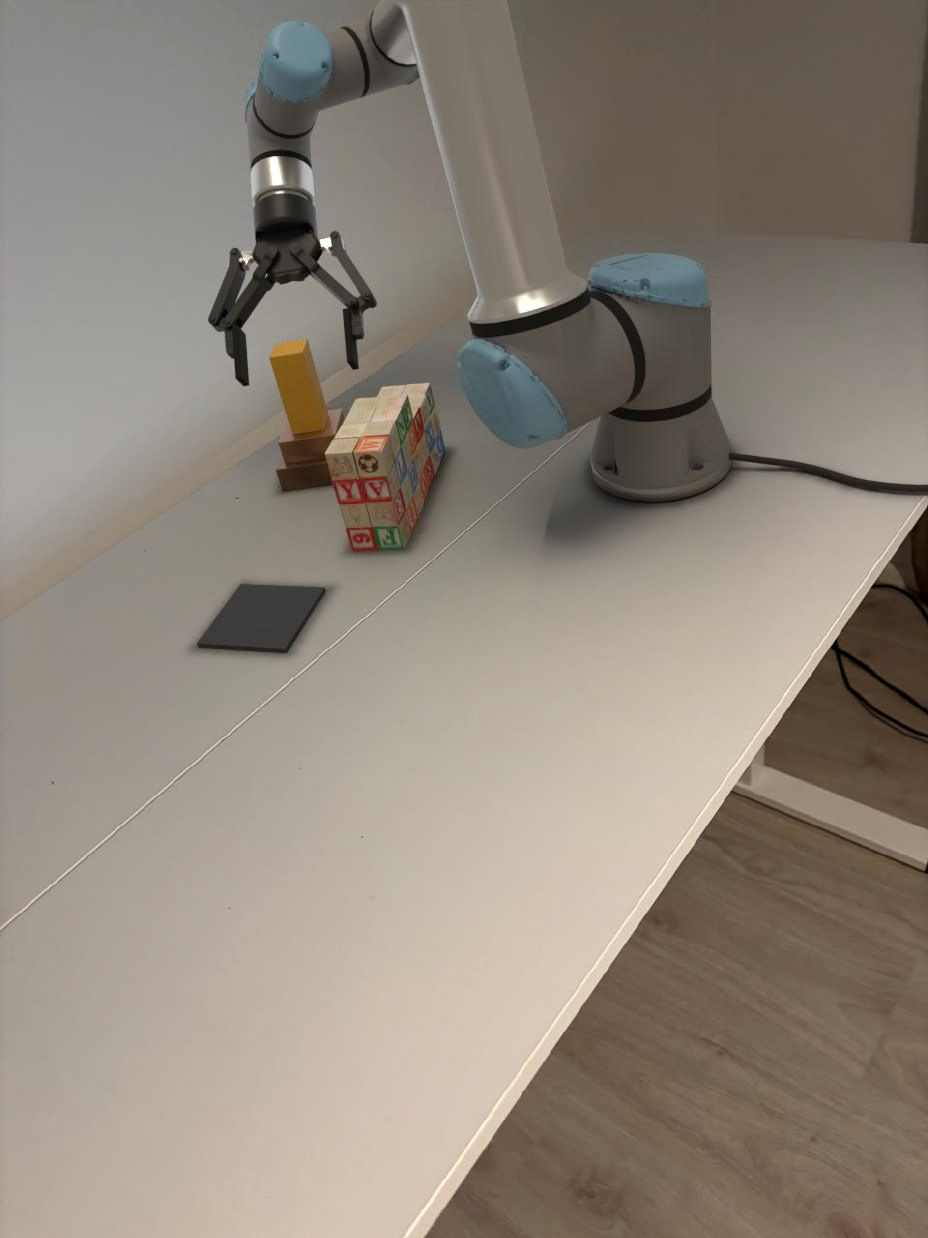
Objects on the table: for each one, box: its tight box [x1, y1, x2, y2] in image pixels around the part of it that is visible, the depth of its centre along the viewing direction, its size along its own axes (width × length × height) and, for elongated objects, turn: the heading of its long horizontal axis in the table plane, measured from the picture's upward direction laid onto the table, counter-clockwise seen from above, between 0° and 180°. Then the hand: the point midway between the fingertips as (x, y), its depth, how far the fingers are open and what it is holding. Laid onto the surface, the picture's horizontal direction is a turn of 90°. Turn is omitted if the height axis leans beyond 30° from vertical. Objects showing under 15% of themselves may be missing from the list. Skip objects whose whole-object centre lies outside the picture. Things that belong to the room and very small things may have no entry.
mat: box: [196, 583, 326, 653], centre depth 105 cm, size 10×10×1 cm
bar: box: [268, 338, 329, 435], centre depth 122 cm, size 4×4×10 cm
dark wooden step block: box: [275, 408, 346, 492], centre depth 127 cm, size 9×9×6 cm
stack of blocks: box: [325, 382, 446, 552], centre depth 116 cm, size 21×6×12 cm, turn 169°
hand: (297, 374), depth 122 cm, fingers open, 13 cm apart
